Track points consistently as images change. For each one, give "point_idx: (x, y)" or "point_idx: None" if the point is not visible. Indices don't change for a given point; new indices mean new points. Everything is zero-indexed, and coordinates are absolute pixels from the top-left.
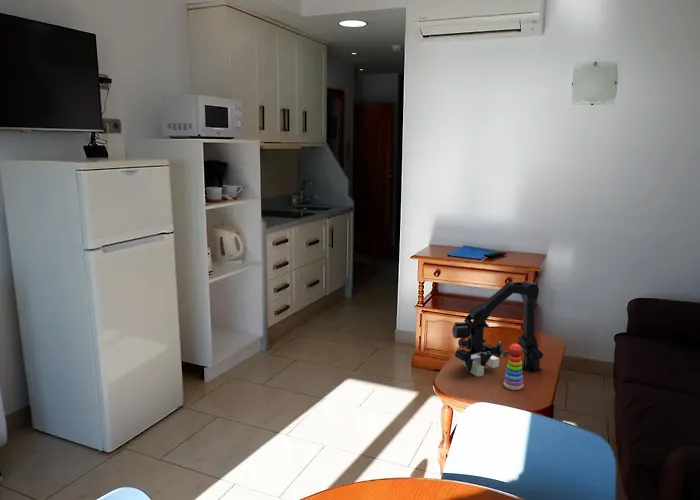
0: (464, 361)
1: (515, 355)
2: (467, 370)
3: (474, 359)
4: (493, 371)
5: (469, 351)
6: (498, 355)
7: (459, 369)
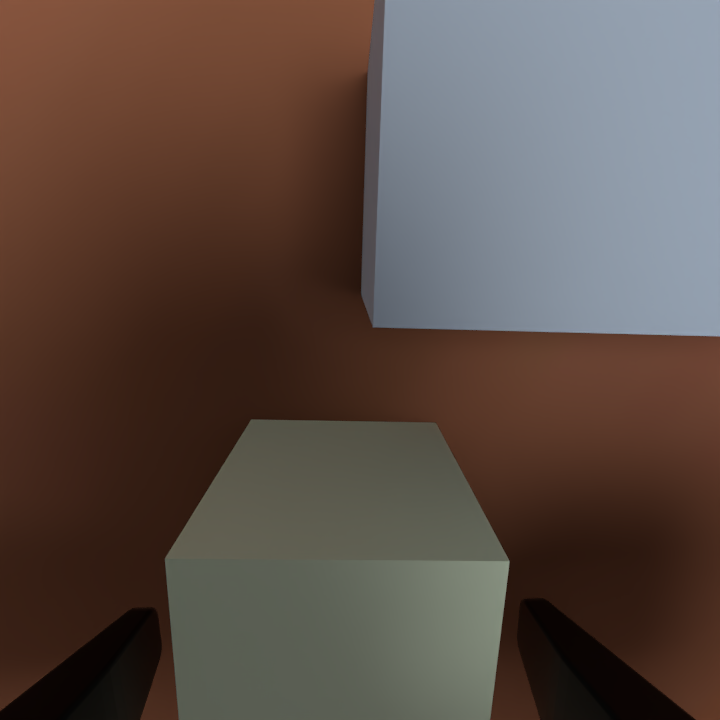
0: (373, 94)
1: None
2: (251, 428)
3: (714, 329)
4: (694, 668)
5: None
6: None
7: (108, 284)
